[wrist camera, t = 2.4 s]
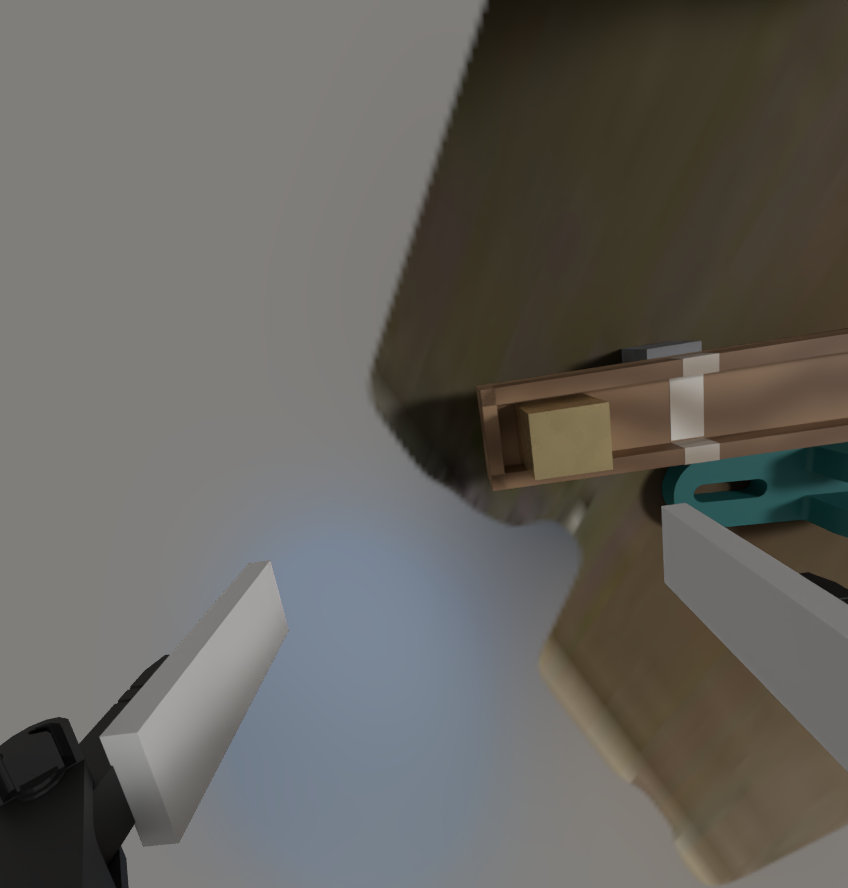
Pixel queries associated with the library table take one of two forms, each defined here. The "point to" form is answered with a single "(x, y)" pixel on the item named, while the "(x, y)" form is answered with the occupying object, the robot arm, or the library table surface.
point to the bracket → (769, 487)
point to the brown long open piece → (688, 404)
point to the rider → (564, 435)
